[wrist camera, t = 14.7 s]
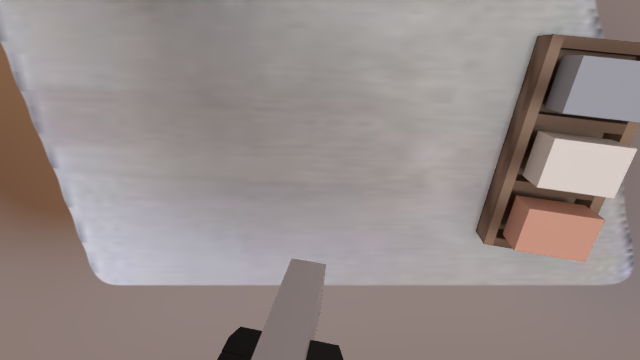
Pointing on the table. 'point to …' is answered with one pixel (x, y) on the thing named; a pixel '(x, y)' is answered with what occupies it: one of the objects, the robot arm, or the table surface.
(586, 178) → the cream key
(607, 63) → the slate key
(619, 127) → the wooden compartment tray
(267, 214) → the table surface
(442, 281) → the table surface
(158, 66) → the table surface
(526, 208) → the terracotta key
